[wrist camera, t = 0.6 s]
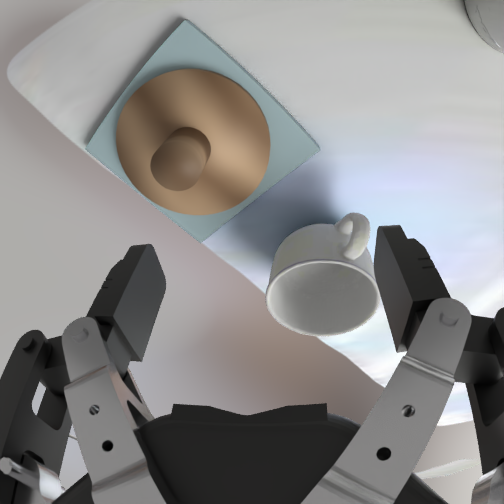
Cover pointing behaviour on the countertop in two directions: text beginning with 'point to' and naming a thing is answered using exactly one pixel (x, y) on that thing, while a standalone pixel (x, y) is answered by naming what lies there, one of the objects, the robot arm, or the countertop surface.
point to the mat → (217, 60)
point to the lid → (193, 141)
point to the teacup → (324, 278)
